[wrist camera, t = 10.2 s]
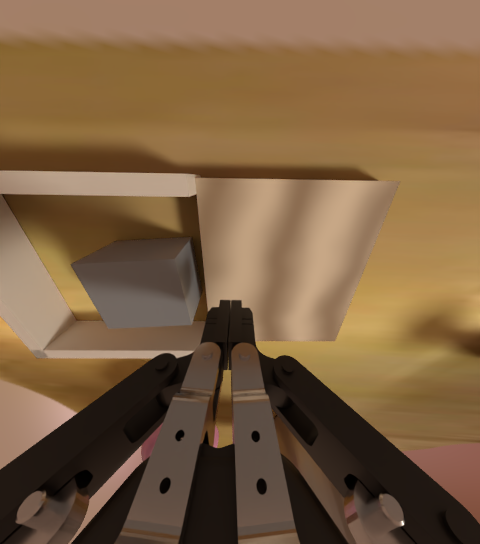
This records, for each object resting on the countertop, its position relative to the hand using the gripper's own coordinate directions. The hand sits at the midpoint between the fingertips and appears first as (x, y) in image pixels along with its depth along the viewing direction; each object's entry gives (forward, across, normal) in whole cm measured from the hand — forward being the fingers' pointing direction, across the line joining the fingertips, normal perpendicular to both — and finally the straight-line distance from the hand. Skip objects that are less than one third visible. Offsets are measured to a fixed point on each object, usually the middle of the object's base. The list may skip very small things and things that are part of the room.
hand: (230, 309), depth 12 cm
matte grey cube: (+6, +7, 0) cm, 9 cm away
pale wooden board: (+6, -4, 0) cm, 7 cm away
